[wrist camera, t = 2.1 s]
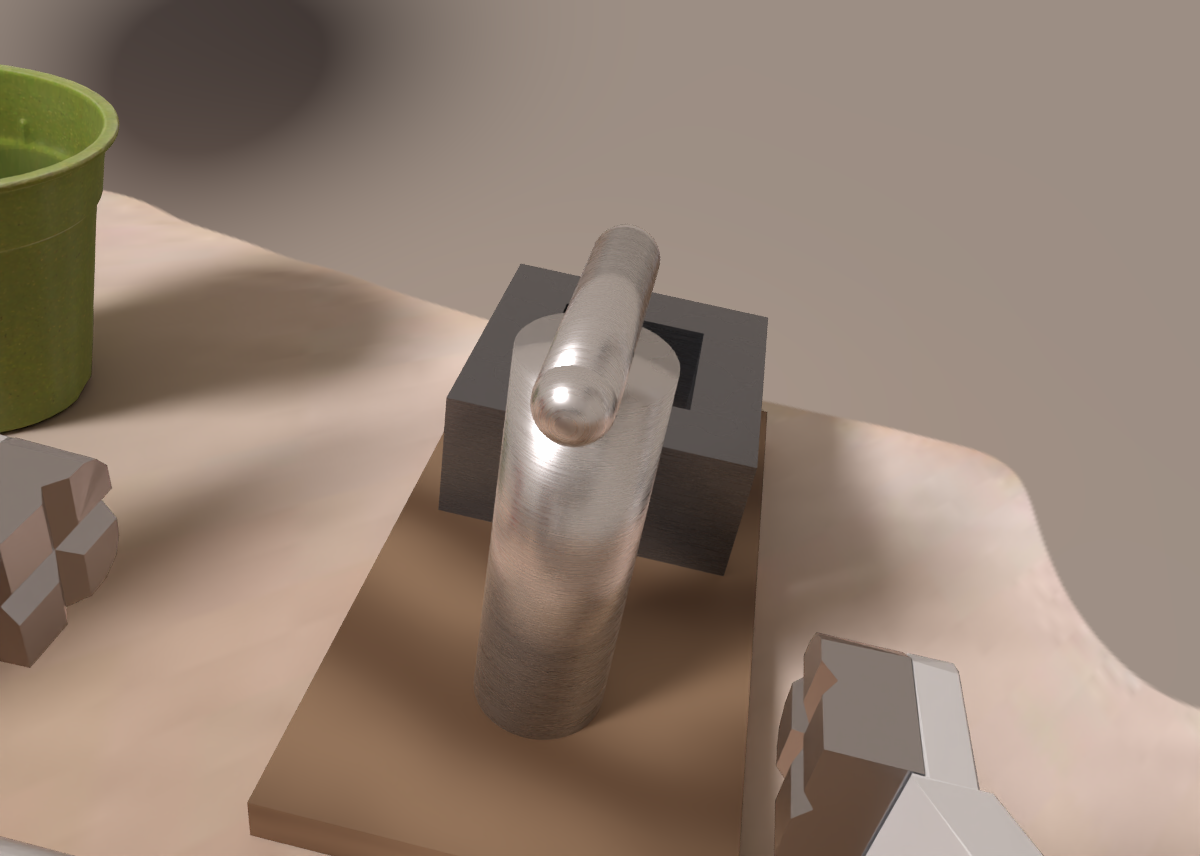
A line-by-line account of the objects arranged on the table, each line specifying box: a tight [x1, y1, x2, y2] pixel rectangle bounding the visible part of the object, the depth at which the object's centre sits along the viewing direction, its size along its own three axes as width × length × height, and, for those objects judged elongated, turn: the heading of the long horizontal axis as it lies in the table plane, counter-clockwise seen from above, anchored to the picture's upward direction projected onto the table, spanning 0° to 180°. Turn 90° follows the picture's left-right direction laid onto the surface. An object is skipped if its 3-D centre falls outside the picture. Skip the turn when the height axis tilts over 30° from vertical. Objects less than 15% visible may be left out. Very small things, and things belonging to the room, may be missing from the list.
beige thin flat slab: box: [247, 411, 767, 856], centre depth 36 cm, size 24×13×2 cm, turn 170°
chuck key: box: [474, 224, 680, 740], centre depth 27 cm, size 9×4×14 cm, turn 170°
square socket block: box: [438, 264, 768, 576], centre depth 39 cm, size 11×11×5 cm
